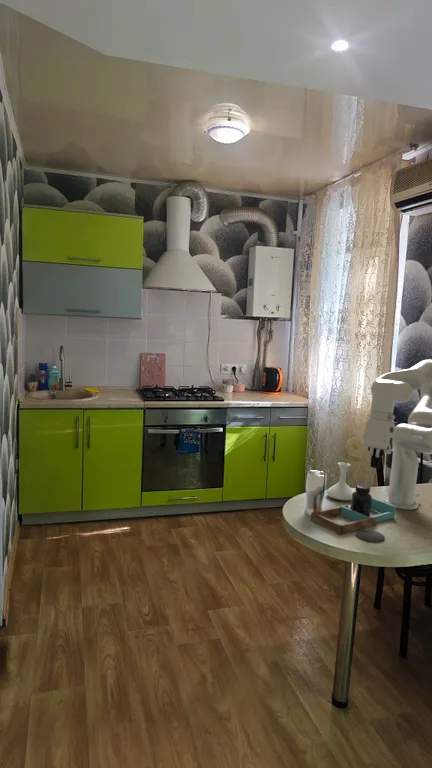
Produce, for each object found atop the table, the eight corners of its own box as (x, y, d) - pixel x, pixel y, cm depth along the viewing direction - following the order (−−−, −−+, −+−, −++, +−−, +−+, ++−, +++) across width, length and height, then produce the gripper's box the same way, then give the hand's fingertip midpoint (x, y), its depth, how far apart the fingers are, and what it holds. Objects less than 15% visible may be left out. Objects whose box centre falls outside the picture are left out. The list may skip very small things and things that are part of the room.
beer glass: (323, 518, 181) (327, 476, 179) (303, 516, 182) (307, 474, 180) (322, 511, 187) (326, 471, 186) (303, 509, 188) (307, 469, 187)
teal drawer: (369, 507, 194) (371, 497, 194) (394, 517, 186) (395, 506, 185) (340, 515, 184) (341, 503, 184) (364, 525, 176) (365, 513, 176)
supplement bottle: (345, 516, 184) (348, 484, 182) (358, 514, 188) (362, 482, 186) (360, 523, 178) (363, 490, 177) (373, 520, 182) (377, 487, 180)
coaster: (367, 529, 174) (367, 527, 173) (390, 539, 166) (390, 537, 166) (349, 534, 168) (349, 532, 168) (372, 544, 161) (372, 542, 161)
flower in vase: (325, 500, 200) (331, 437, 197) (326, 491, 211) (332, 431, 208) (360, 505, 197) (367, 441, 194) (359, 496, 208) (365, 435, 205)
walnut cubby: (345, 512, 188) (346, 504, 188) (375, 525, 177) (376, 517, 177) (310, 521, 177) (311, 512, 177) (340, 535, 167) (341, 526, 167)
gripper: (406, 419, 178) (399, 472, 180) (370, 412, 190) (364, 461, 192) (393, 420, 174) (386, 473, 175) (357, 412, 186) (351, 462, 187)
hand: (374, 467), depth 184 cm, fingers closed
